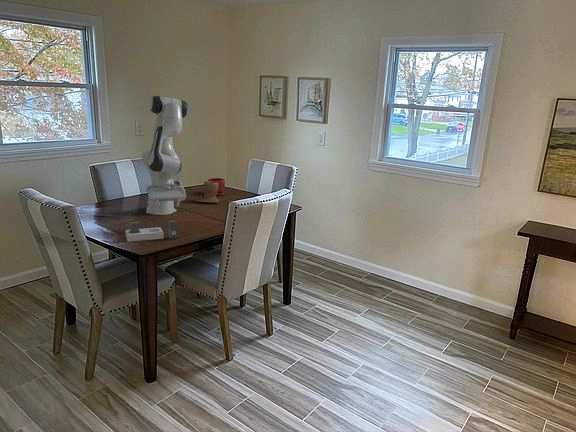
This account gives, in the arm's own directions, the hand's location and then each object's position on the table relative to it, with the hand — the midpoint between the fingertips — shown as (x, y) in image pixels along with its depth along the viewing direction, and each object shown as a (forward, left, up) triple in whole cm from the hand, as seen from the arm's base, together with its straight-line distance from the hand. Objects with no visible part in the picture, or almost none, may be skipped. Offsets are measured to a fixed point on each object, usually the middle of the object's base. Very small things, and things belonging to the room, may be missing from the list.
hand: (169, 206), depth 236 cm
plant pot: (-79, +51, -14) cm, 95 cm away
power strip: (+2, -14, -14) cm, 20 cm away
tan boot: (-58, +39, -14) cm, 71 cm away
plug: (+11, 0, -14) cm, 18 cm away
